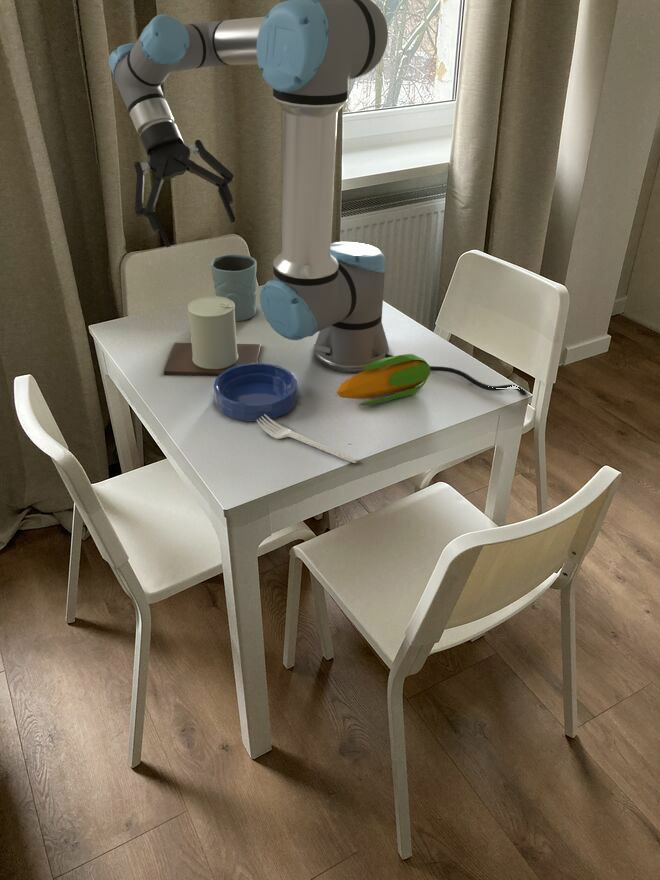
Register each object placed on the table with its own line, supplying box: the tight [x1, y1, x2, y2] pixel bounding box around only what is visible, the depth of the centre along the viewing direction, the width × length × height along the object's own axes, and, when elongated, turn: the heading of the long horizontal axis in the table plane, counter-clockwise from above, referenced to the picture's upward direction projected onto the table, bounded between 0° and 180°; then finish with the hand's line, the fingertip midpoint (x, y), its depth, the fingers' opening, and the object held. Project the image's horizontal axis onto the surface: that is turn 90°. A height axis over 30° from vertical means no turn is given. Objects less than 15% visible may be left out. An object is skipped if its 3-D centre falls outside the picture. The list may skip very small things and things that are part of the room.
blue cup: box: [210, 253, 258, 322], centre depth 167 cm, size 10×10×12 cm
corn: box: [336, 353, 431, 407], centre depth 139 cm, size 7×8×20 cm
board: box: [163, 342, 262, 377], centre depth 151 cm, size 18×12×1 cm, turn 89°
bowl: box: [213, 362, 298, 422], centre depth 139 cm, size 15×15×4 cm
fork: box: [256, 414, 358, 464], centre depth 128 cm, size 3×20×2 cm, turn 56°
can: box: [186, 295, 238, 369], centre depth 147 cm, size 9×9×12 cm
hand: (201, 233), depth 146 cm, fingers open, 13 cm apart
